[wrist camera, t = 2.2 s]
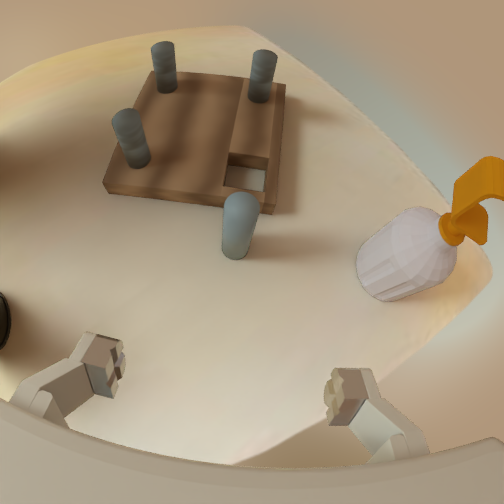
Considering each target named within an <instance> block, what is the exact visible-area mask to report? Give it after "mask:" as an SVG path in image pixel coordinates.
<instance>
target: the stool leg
mask: <svg viewBox="0 0 504 504" xmlns="http://www.w3.org/2000/svg"><path fill="white" fill-rule="evenodd" d="M259 212H260V205H259V202H258V200H257V199H256V198H255V197H254V196H253V195H252V194H250V193H247V192H235V193H233V194H231V195H230V196H229V197H228V198H227V199H226V201H225V203H224V214H223V234H222V251H223V253H224V255H225V256H226V257H228V258H229V259H232V260H239V259H241V258H243V257H244V256H245V255H246V254H247V252H248V249H249V245H250V242H251V239H252V235H253V232H254V229H255V225H256V222H257V219H258V215H259Z"/></svg>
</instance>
